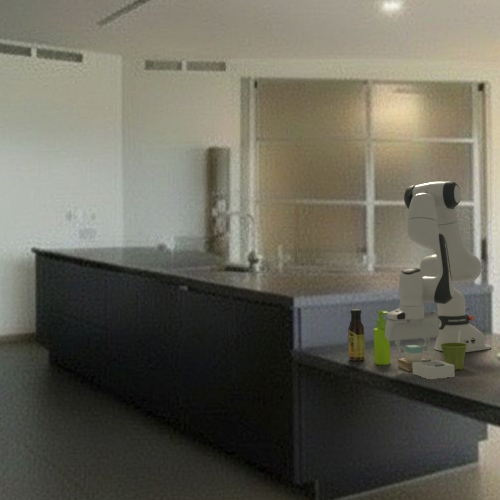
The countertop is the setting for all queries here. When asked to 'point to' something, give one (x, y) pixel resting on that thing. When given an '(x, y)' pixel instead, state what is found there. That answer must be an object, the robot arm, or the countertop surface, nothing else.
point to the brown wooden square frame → (406, 364)
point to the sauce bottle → (356, 336)
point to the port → (433, 369)
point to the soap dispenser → (381, 342)
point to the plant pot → (454, 354)
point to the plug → (413, 353)
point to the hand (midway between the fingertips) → (412, 351)
